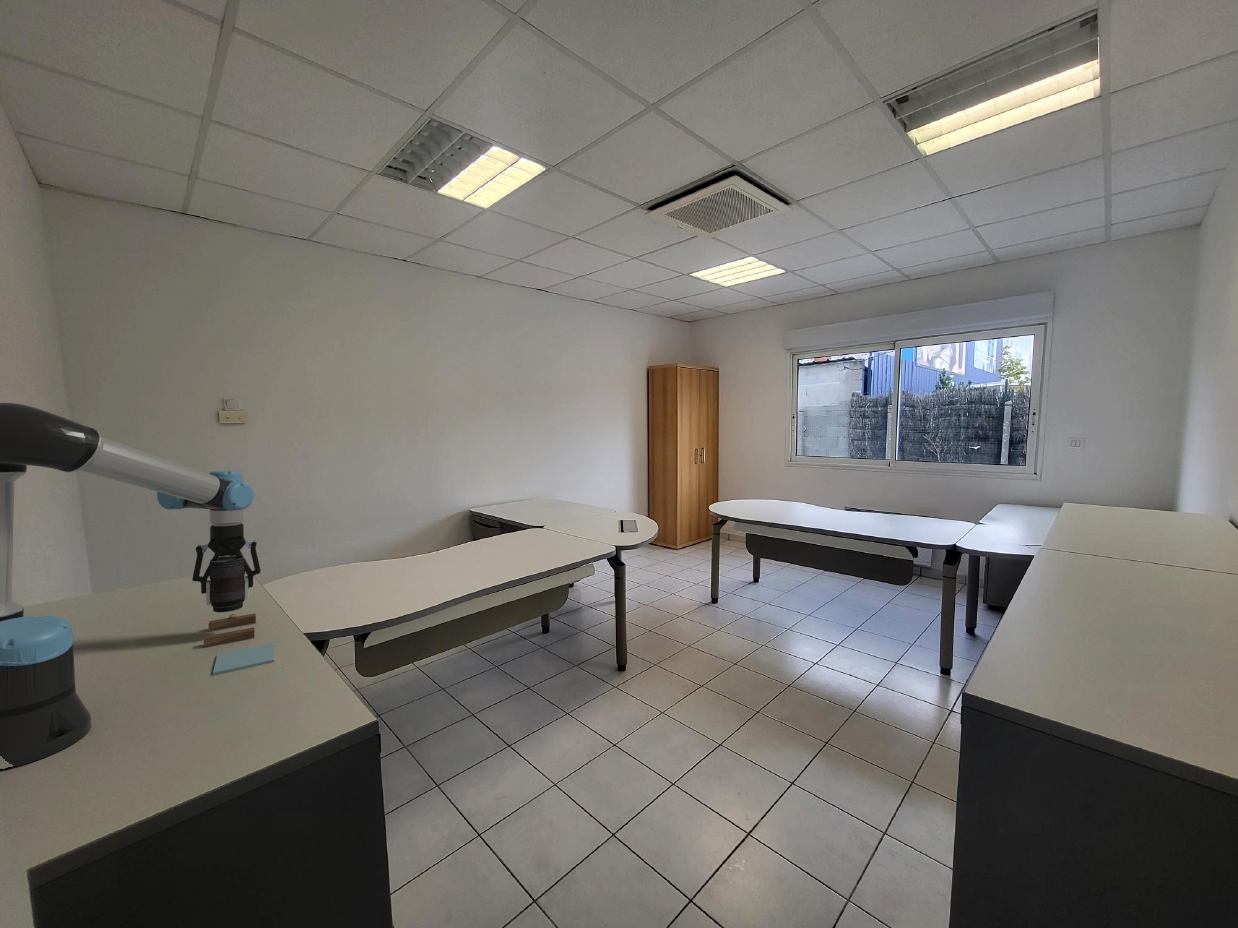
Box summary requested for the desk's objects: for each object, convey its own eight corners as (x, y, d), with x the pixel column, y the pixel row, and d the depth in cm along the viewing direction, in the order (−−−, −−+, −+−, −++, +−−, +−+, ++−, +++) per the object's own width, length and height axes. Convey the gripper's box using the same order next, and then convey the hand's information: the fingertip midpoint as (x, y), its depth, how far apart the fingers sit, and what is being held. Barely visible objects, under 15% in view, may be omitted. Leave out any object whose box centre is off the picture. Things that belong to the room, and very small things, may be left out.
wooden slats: (254, 637, 136) (253, 626, 136) (203, 647, 130) (203, 635, 130) (255, 620, 148) (255, 610, 148) (209, 629, 142) (209, 617, 142)
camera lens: (204, 610, 136) (203, 559, 136) (237, 602, 143) (236, 553, 143) (217, 615, 132) (217, 562, 132) (251, 607, 140) (250, 557, 139)
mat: (273, 661, 122) (273, 659, 122) (212, 675, 115) (212, 672, 115) (273, 644, 132) (273, 642, 132) (217, 656, 125) (217, 654, 125)
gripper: (271, 519, 146) (272, 591, 147) (180, 524, 134) (182, 604, 135) (271, 522, 140) (272, 598, 141) (176, 528, 128) (177, 611, 129)
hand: (228, 600), depth 138 cm, fingers closed on camera lens, 8 cm apart
